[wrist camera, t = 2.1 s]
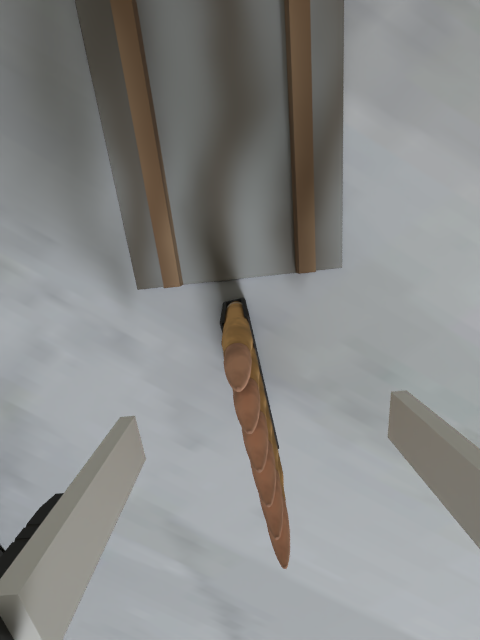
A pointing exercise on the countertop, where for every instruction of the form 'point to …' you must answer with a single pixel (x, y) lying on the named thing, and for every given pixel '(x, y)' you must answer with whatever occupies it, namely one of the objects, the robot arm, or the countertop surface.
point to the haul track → (222, 133)
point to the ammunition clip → (255, 421)
